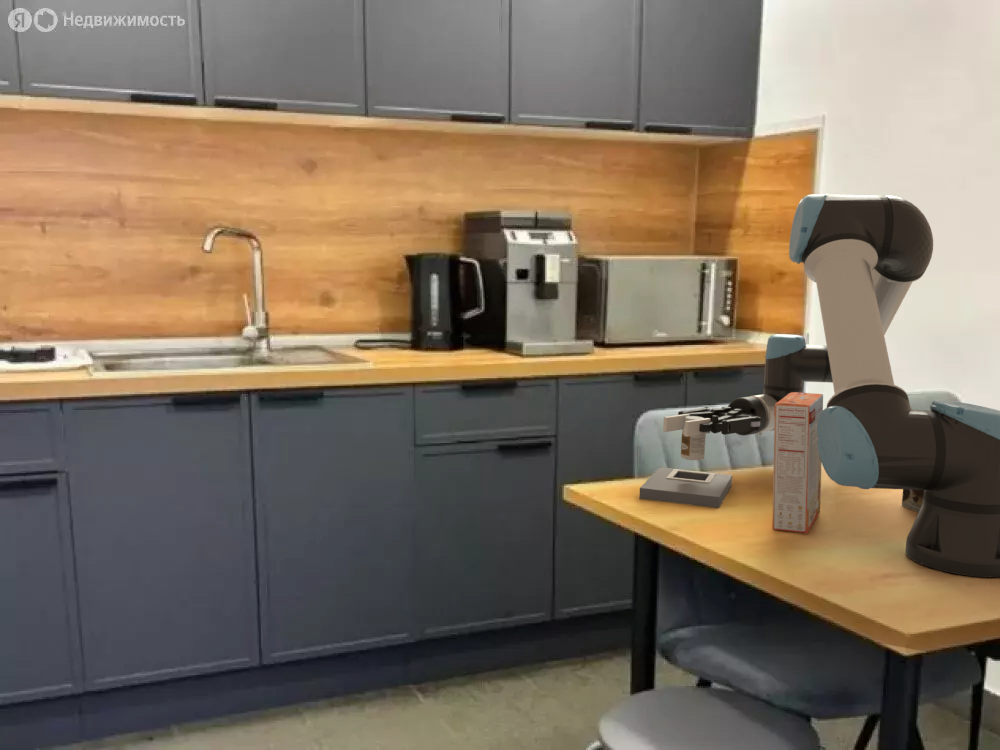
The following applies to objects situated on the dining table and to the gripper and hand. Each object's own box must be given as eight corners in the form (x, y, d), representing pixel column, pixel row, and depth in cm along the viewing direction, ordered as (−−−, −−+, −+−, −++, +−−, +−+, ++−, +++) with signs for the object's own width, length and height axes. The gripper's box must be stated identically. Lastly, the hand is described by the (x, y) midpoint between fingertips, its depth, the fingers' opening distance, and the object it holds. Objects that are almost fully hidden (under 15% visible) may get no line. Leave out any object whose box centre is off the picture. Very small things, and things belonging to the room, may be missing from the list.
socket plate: (718, 508, 164) (719, 495, 164) (639, 498, 169) (639, 486, 168) (731, 485, 181) (732, 474, 180) (659, 477, 185) (659, 466, 185)
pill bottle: (677, 455, 180) (679, 415, 179) (699, 455, 180) (702, 415, 179) (684, 460, 175) (686, 419, 174) (707, 460, 176) (709, 419, 175)
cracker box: (784, 510, 164) (789, 391, 162) (821, 514, 161) (825, 393, 159) (768, 530, 152) (773, 401, 149) (807, 535, 149) (812, 404, 147)
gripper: (788, 441, 182) (712, 455, 167) (716, 426, 195) (639, 438, 181) (791, 402, 181) (714, 414, 166) (718, 390, 194) (641, 399, 180)
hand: (675, 426), depth 173 cm, fingers closed on pill bottle, 4 cm apart
